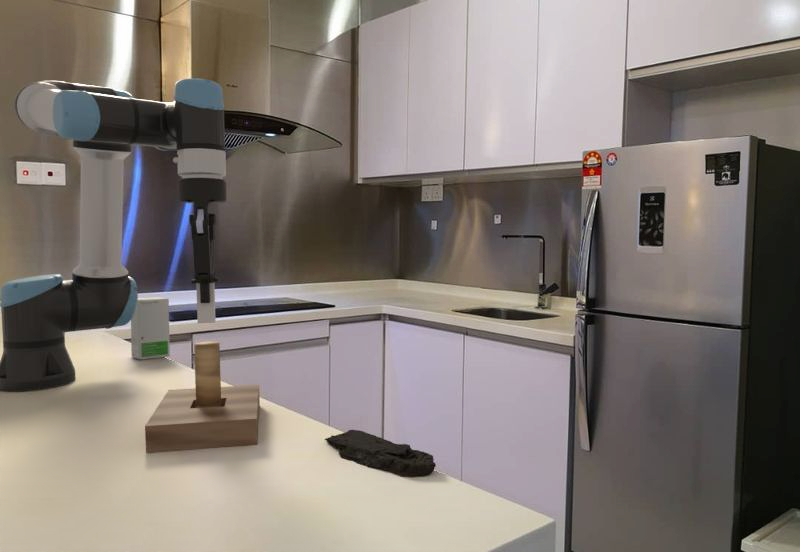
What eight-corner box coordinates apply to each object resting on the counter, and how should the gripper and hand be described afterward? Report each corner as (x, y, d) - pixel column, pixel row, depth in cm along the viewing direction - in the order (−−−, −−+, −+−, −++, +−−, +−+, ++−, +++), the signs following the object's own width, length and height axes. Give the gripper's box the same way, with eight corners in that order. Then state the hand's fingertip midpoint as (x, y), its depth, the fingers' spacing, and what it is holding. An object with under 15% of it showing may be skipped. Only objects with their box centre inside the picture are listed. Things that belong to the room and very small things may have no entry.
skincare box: (139, 360, 161) (136, 300, 160) (130, 357, 166) (128, 298, 165) (171, 356, 166) (169, 297, 165) (162, 352, 171) (160, 296, 170)
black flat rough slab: (309, 446, 96) (308, 427, 96) (348, 435, 101) (347, 416, 100) (406, 490, 79) (406, 467, 79) (447, 474, 84) (447, 452, 84)
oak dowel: (198, 423, 106) (195, 342, 105) (222, 422, 107) (220, 341, 106) (195, 431, 102) (192, 346, 101) (220, 429, 103) (218, 345, 102)
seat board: (169, 411, 114) (168, 389, 114) (259, 405, 117) (259, 384, 117) (145, 452, 92) (144, 426, 92) (257, 444, 96) (256, 418, 95)
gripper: (183, 181, 108) (187, 318, 109) (171, 174, 95) (177, 329, 96) (228, 181, 109) (232, 316, 111) (222, 174, 96) (227, 326, 98)
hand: (206, 322), depth 103 cm, fingers closed
